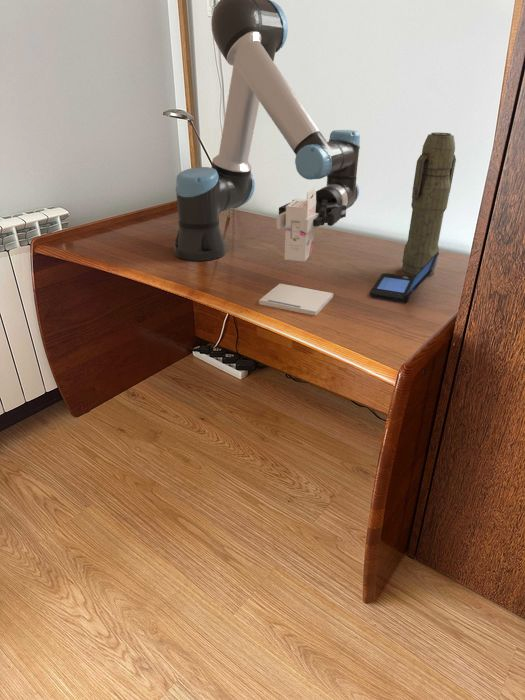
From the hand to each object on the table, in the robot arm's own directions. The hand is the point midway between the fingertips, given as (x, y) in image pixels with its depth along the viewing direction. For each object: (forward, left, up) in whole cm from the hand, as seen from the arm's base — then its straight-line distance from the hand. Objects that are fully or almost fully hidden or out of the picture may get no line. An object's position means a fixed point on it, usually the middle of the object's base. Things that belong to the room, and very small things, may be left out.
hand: (292, 224), depth 106 cm
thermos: (+22, +39, -20) cm, 49 cm away
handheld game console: (+21, +23, -20) cm, 37 cm away
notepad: (0, +5, -19) cm, 20 cm away
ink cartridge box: (0, +5, -9) cm, 10 cm away
